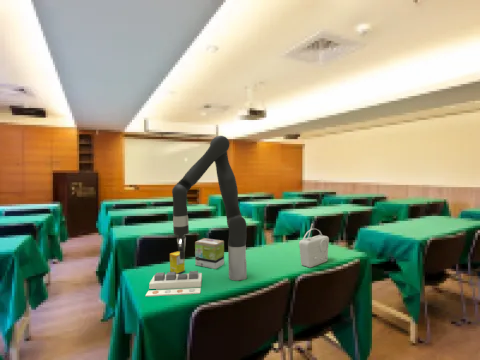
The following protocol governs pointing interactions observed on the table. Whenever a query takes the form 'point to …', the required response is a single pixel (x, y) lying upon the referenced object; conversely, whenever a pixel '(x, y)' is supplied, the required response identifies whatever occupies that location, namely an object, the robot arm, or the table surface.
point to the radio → (313, 249)
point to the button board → (176, 283)
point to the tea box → (209, 253)
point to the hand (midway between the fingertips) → (182, 258)
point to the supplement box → (176, 263)
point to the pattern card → (173, 292)
